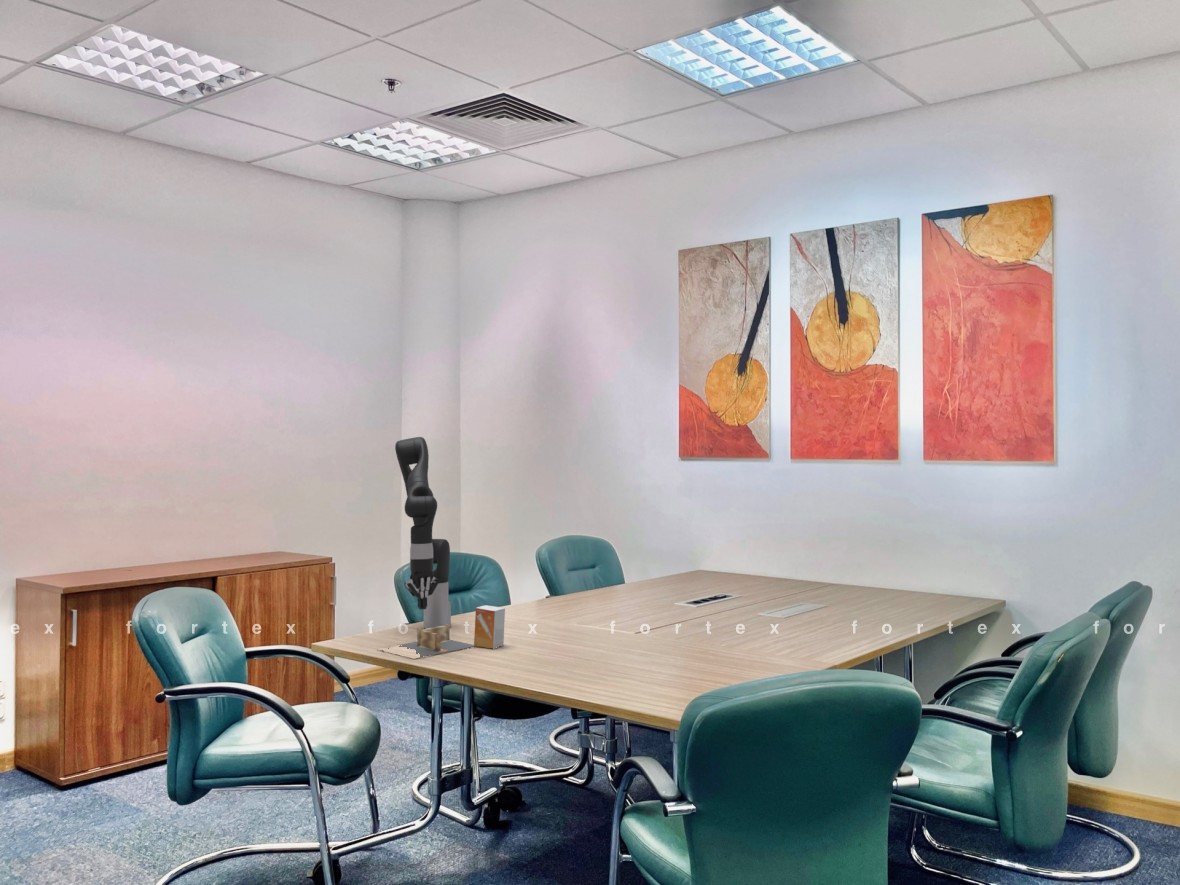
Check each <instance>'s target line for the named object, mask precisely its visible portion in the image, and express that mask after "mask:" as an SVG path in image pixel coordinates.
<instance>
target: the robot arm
mask: <svg viewBox="0 0 1180 885" xmlns="http://www.w3.org/2000/svg"><path fill="white" fill-rule="evenodd" d="M394 447H395V449H394V450H395V454H396V458H397V462H398V464H399V465H398V466H399V468H400V472H401V475H402V478H403V479H402V480H403V482H404V486H405V487H404V488H405V492H406V500H405V504H404V513H405V515H406V516H407V517H409V518H411V519H412V522H413V525H412V526H411V527H410V548H409V549H410V550H409V554H410V555H409V559H410V560H409V564H410V565H409V567H410V568H409V569H410V573H411V574H410V577H409V580H408V581H407V582H404V587H405V588H406V589H407V591H408V592H409V594H410V595H411V596H412V597H415V598H417V608H419V609H418V610H423V629H424V628H425V629H428V628H434V627H439V626H444V624H449V628H451V627H452V620H451V619H452V612H451V611H452V607H451V606H452V602H451V601H449V577H450V576H449V574H450V557H451V547H450V542H449V540H447V539H445V538H433V525H434V521H435V516H436V513H437V509H438V502H437V499H436V498H435V496H434V493H433V491H432V489H431V488H430V486H429V479H428V478H429V476H428V474H429V459H430V458H429V449H428V444H427V442H426V439H425V438H424V437H423V436H415V437H411V438H409V437H408V438H405V439H401V440H398V441H396V442H395V446H394ZM412 465H415V466H414V467H413V468H411V466H412ZM435 564H436V568H435V569H434V565H435Z"/></svg>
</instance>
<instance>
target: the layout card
mask: <svg viewBox="0 0 1180 885" xmlns="http://www.w3.org/2000/svg"><path fill="white" fill-rule="evenodd" d="M399 645H400V646H399V647H407V649H409V648H410V649H415V650H416V654H418V653H419V654H420V657H423V656H429V655H434V656H436V655H435V654H439V655H443V654H442V653H444V654H448V653H447V652H449V653H453V651H454V652H458V651H459V652H460V651H463V649H464V650H468V649H467V648H469V649H472V648H471V647H474V648H477V647H476V645H474V644H471V643H467V642H462V641H458V640H453V639H449V641H443V642H441V650H435V649H431V648H428V647H425V646H417V641H412V643H411V642H407V643H401V644H399ZM401 645H402V646H401ZM388 649H389V648H388ZM429 657H430V656H429Z"/></svg>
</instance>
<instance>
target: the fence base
mask: <svg viewBox="0 0 1180 885" xmlns="http://www.w3.org/2000/svg"><path fill="white" fill-rule="evenodd" d="M420 630H425V631H429V632H433V633H436V634H437V633H440V635H441V642H443V641H449V640H450V627H449V624H444V626H439V627H434V628H428V629H424V627H417V628H416V642H417V646H421V631H420Z"/></svg>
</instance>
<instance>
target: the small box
mask: <svg viewBox="0 0 1180 885" xmlns="http://www.w3.org/2000/svg"><path fill="white" fill-rule="evenodd" d="M505 618H506V607H499V606H496V605H494V606H493V605H487V604H486V605H481V606H477V607H475V619H474V620H475V621H474V638H473V639H474V640H473V645H476V646H477V647H482V648H487V649H490V648H495V649H497V648H496V647H498V648H500V647H499V646H501V647H503V646H504V641H505V640H504V639H505V622H506V621H505ZM502 645H503V646H502Z"/></svg>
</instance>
